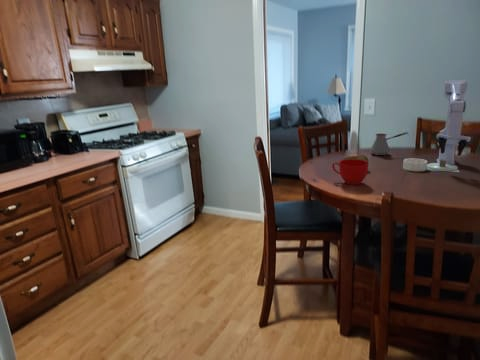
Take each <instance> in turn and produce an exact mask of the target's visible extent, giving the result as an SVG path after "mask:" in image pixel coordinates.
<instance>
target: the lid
mask: <svg viewBox="0 0 480 360" xmlns="http://www.w3.org/2000/svg"><path fill="white" fill-rule="evenodd" d="M455 165H456V164H446V159H440V162H439V163H438V162H430V163H427V168H429V169H432V170H438V171H437V172H448V171H455V170H457V169H458V170H459V167H458V165H456V166H455ZM432 170H431V171H432Z"/></svg>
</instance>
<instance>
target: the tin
mask: <svg viewBox="0 0 480 360" xmlns="http://www.w3.org/2000/svg"><path fill="white" fill-rule="evenodd" d="M348 159H356V160H364V161H367V162H368V163H369V158H368V156H366V155H365V154H356V155H355V154H354V155H348V156H345V157H343V159H342V160H348Z"/></svg>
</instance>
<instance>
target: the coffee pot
mask: <svg viewBox="0 0 480 360" xmlns="http://www.w3.org/2000/svg"><path fill="white" fill-rule="evenodd" d="M387 135H388V134H387V133H375V136H376V138H375V140H374V142H373V144H372V145H371V147H370V153H371V154H375V155H374V156H377V155H384V156H387V154H389V153H390V151H391V149H390V146H389V144H388V140H391V139H394V138H398V137H402V136H405V135H407V136H409V133H408V131H407V132H402V133H398V134H395V135H394V136H391V137H387ZM386 137H387V138H386Z"/></svg>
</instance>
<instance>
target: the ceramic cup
mask: <svg viewBox="0 0 480 360" xmlns="http://www.w3.org/2000/svg"><path fill="white" fill-rule="evenodd" d="M335 165H337V166H338V167H339V171H338V170H337V169H336V167H335ZM331 168H332V170H333V172H335V173H337V174H338V175H340V177H341V179H342V180H343V181H344V183H345V184H347V185H350V186H357V185H360V184H361V183H362V182H363V181H365V179H366V177H367V175H368V171H369V161H368V162H367V161H364V160H356V159H348V160H343V159H341V160H340V161H339V162H333V163H332V167H331Z"/></svg>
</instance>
